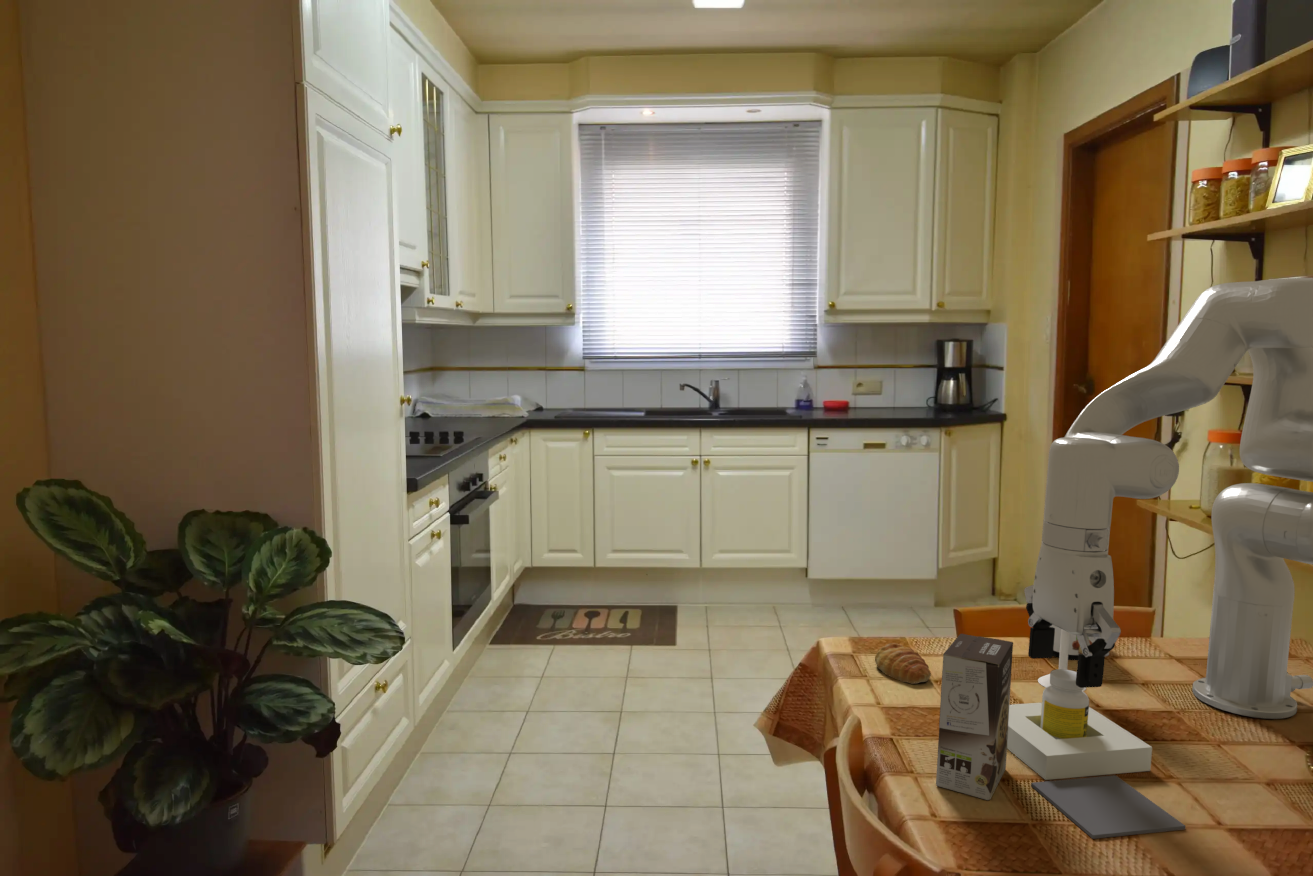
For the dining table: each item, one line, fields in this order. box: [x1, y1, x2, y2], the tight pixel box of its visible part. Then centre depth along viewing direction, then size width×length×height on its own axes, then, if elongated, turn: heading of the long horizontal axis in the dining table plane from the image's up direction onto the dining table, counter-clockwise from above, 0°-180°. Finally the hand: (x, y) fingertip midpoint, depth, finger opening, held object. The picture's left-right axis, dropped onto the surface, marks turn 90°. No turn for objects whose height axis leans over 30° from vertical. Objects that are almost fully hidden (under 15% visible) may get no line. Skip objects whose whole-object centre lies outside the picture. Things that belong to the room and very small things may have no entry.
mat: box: [1030, 774, 1186, 840], centre depth 99 cm, size 11×11×1 cm
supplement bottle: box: [1040, 668, 1090, 739], centre depth 113 cm, size 5×5×10 cm
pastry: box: [874, 642, 932, 685], centre depth 138 cm, size 9×7×4 cm
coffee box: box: [935, 633, 1014, 801], centre depth 105 cm, size 9×6×16 cm
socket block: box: [1007, 701, 1153, 781], centre depth 113 cm, size 14×14×3 cm
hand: (1063, 671), depth 112 cm, fingers open, 9 cm apart
